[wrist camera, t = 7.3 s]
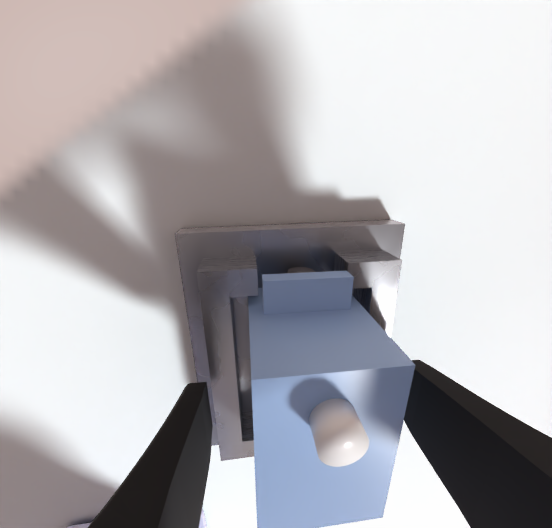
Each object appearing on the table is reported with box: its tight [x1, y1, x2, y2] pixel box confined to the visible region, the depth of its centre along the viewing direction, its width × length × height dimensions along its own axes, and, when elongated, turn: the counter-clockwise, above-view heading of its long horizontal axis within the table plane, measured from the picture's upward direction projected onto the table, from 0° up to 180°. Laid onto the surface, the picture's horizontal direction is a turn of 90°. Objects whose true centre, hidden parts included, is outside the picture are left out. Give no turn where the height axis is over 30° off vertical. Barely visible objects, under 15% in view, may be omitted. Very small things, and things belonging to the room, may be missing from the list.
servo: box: [248, 267, 415, 528], centre depth 9 cm, size 8×4×6 cm, turn 0°
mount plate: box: [175, 220, 405, 461], centre depth 12 cm, size 11×9×2 cm
